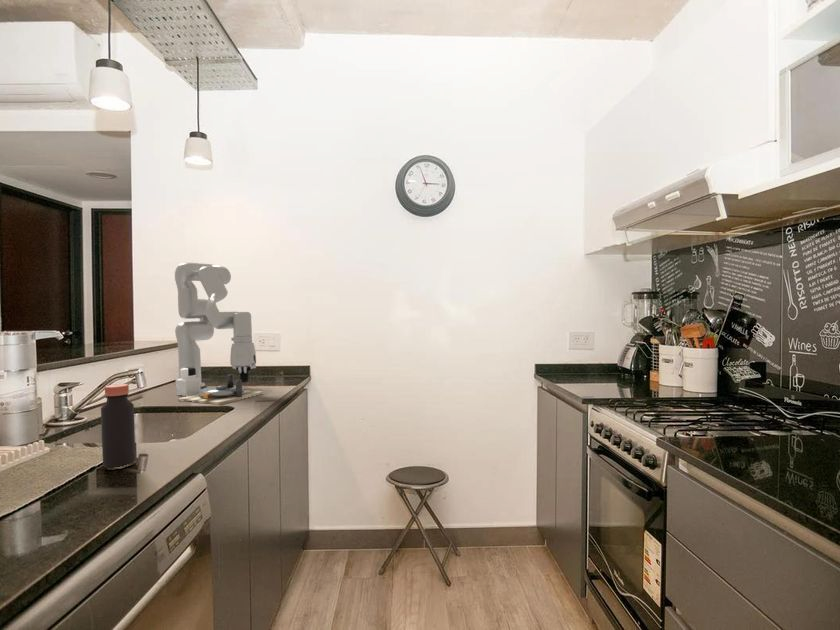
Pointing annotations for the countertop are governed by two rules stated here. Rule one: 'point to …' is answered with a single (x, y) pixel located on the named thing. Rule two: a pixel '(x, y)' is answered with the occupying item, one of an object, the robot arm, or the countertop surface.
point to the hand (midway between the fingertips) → (244, 381)
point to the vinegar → (117, 427)
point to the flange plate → (220, 389)
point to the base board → (223, 399)
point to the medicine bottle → (188, 382)
